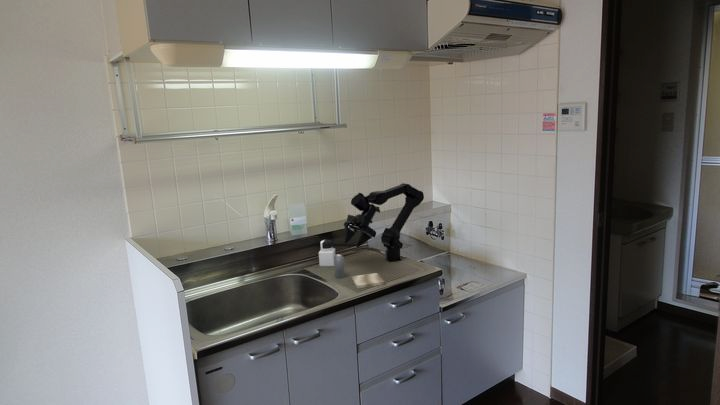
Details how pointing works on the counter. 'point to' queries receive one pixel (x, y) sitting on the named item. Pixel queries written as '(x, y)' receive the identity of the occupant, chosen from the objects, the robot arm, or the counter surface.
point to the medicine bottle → (326, 253)
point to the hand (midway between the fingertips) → (350, 245)
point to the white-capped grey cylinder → (339, 266)
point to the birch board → (367, 280)
